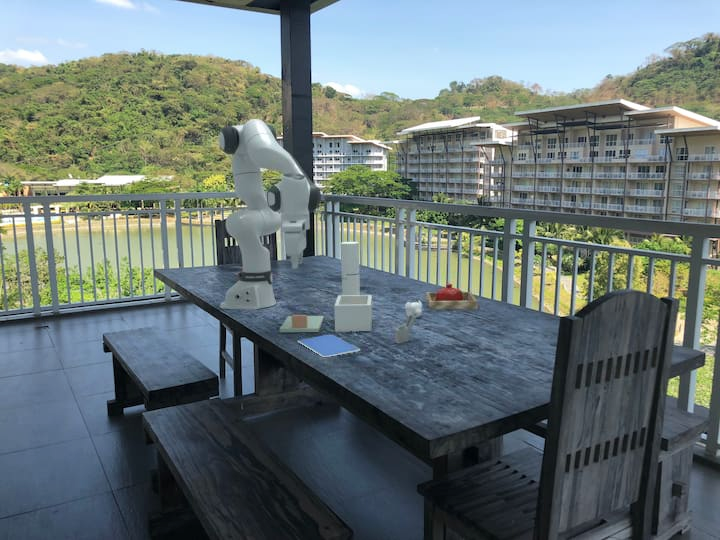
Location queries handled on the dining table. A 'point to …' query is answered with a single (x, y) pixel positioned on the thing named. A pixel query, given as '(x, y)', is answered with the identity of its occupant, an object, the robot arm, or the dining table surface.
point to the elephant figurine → (413, 308)
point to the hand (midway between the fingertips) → (297, 265)
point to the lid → (302, 323)
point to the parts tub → (353, 313)
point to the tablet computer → (328, 345)
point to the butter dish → (449, 294)
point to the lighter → (404, 330)
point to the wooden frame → (452, 302)
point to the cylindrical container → (350, 268)
